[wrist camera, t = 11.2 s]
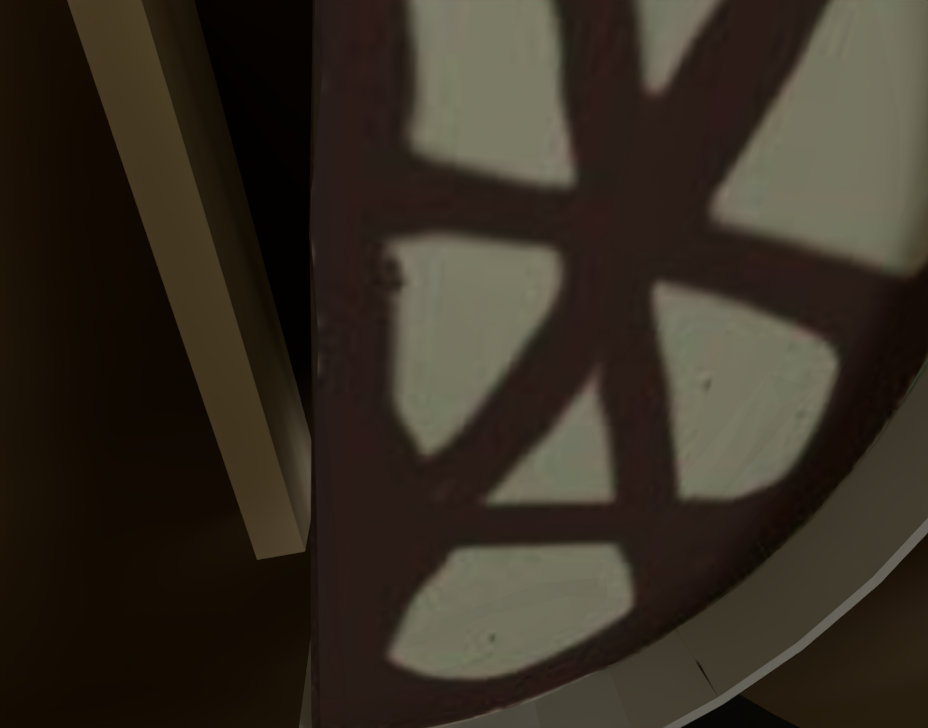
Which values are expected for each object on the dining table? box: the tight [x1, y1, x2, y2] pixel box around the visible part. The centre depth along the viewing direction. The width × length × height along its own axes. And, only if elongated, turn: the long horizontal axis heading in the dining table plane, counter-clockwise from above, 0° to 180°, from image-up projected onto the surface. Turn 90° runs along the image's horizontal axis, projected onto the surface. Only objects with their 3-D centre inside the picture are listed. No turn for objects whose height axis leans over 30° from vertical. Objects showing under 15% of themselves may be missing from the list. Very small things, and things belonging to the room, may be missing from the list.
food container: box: [299, 0, 928, 728], centre depth 9 cm, size 12×6×10 cm, turn 174°
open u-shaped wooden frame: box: [67, 0, 311, 560], centre depth 11 cm, size 11×16×3 cm
